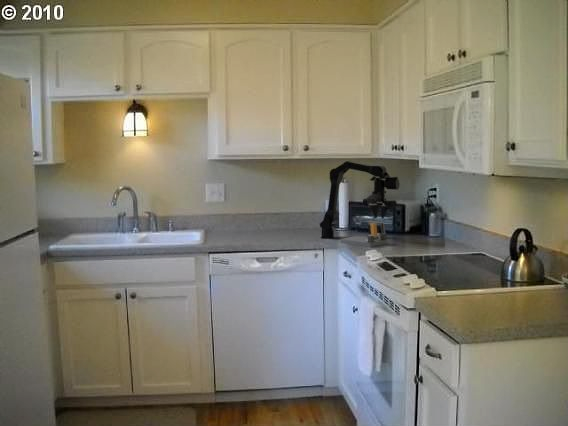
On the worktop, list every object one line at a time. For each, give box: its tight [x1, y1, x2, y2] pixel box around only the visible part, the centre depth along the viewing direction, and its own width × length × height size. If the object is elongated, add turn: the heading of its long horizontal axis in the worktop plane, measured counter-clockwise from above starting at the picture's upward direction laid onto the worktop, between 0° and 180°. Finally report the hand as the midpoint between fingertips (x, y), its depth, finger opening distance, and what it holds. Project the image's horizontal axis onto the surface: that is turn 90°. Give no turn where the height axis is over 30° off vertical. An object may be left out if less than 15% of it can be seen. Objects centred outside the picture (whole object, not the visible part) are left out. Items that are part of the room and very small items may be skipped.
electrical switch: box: [367, 220, 386, 235], centre depth 318 cm, size 9×5×9 cm, turn 57°
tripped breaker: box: [370, 223, 378, 240], centre depth 296 cm, size 2×4×9 cm, turn 134°
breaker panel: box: [340, 232, 389, 248], centre depth 301 cm, size 20×15×6 cm
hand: (379, 218), depth 302 cm, fingers open, 4 cm apart
